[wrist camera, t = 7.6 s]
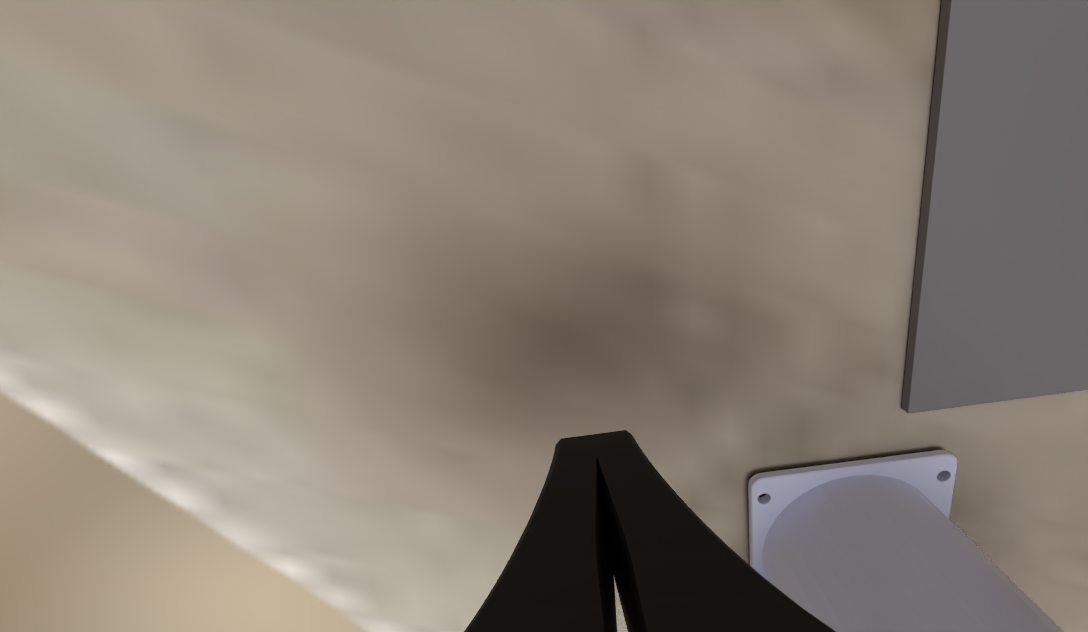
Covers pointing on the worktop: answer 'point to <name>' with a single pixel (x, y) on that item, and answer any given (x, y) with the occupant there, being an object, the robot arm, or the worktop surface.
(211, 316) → the worktop surface
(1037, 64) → the mat
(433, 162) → the worktop surface
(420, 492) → the worktop surface
